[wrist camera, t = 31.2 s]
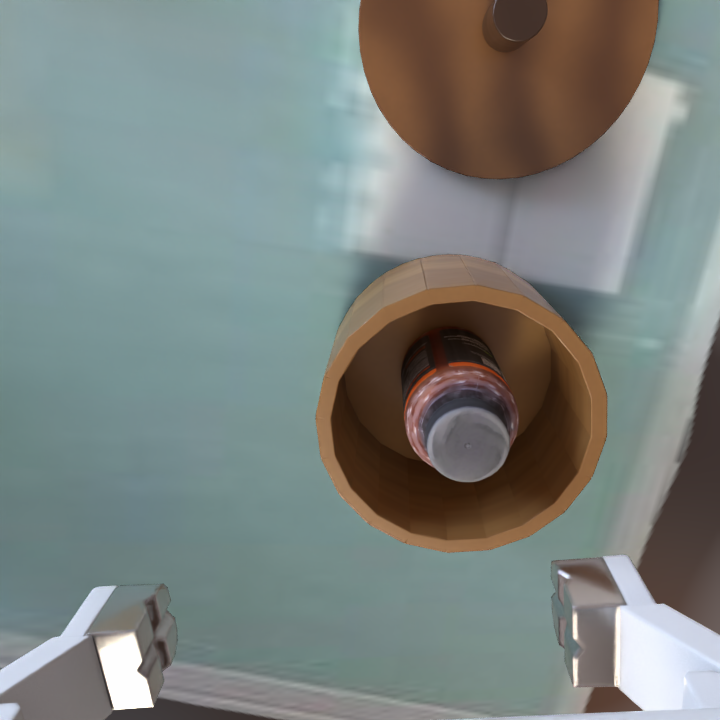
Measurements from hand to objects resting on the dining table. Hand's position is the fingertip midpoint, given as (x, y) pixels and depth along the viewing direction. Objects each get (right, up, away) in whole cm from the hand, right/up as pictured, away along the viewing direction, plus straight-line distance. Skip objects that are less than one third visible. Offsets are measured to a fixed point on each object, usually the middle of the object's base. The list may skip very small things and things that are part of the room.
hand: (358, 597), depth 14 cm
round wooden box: (+6, +5, +29) cm, 30 cm away
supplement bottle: (+6, +5, +29) cm, 29 cm away
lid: (+8, +23, +22) cm, 33 cm away
